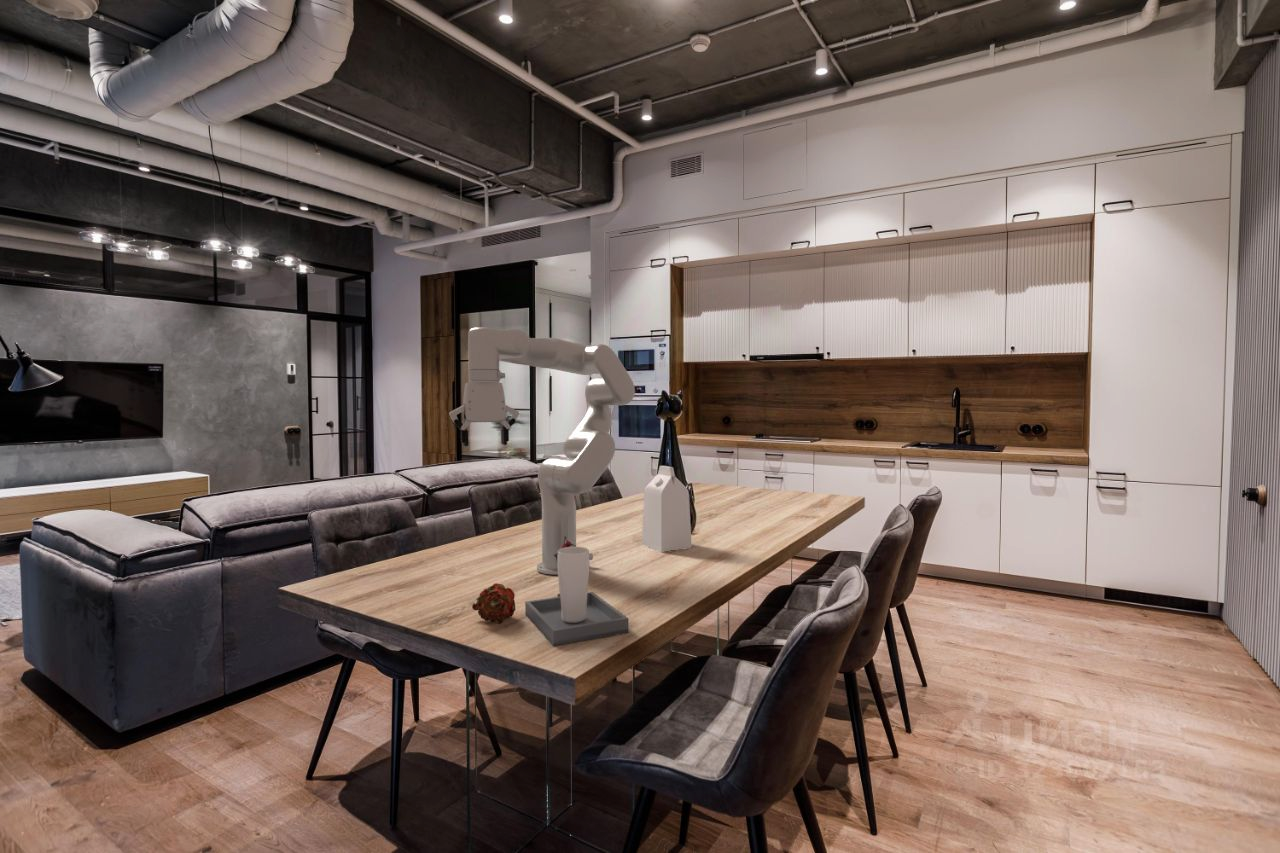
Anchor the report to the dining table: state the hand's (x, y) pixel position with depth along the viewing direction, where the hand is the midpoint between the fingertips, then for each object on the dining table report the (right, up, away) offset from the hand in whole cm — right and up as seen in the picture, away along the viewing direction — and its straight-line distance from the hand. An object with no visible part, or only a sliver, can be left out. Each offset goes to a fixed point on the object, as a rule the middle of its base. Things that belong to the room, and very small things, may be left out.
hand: (485, 445), depth 162 cm
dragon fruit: (+8, -38, -23) cm, 44 cm away
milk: (+48, -34, +46) cm, 74 cm away
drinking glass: (+25, -37, -25) cm, 51 cm away
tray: (+25, -37, -25) cm, 52 cm away
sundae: (+21, -37, -6) cm, 43 cm away
